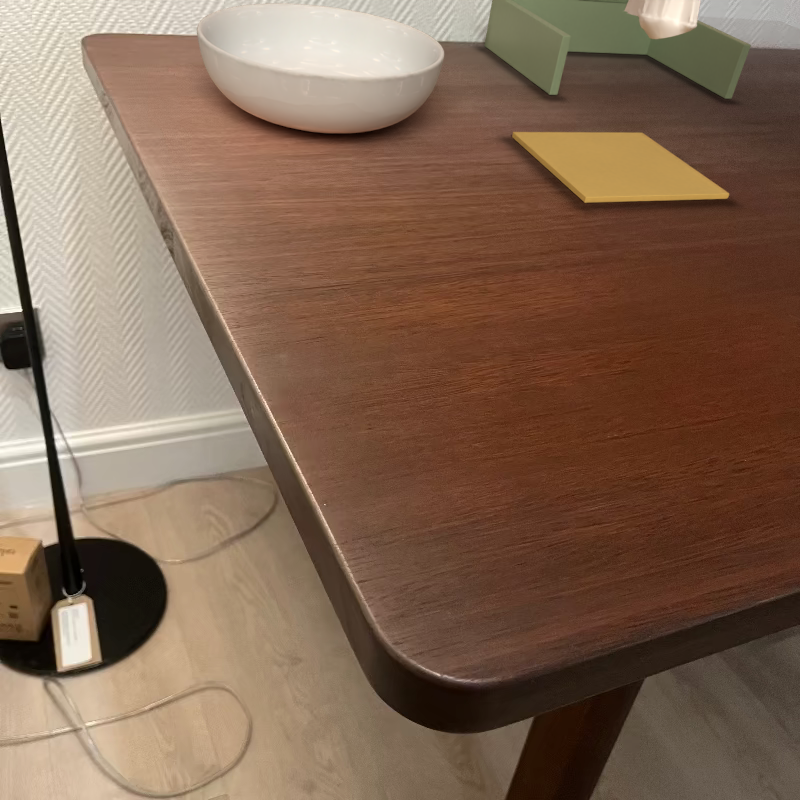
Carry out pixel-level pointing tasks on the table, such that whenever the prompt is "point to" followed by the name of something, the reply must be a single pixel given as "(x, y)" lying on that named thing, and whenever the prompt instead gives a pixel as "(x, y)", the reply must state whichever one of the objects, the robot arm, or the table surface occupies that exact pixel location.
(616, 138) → the board
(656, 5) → the white ridged piece
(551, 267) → the table surface
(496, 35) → the cubby
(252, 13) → the serving bowl
